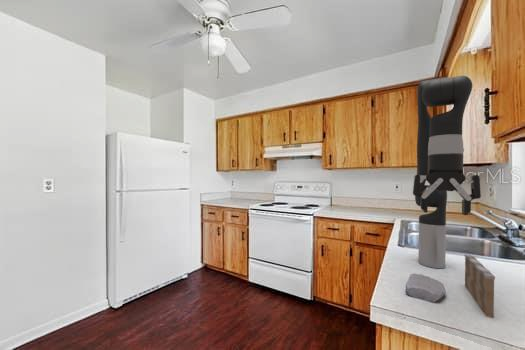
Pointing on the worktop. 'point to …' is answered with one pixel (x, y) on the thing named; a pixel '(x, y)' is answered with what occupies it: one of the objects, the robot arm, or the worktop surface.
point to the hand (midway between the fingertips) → (444, 213)
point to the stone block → (424, 288)
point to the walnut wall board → (480, 284)
